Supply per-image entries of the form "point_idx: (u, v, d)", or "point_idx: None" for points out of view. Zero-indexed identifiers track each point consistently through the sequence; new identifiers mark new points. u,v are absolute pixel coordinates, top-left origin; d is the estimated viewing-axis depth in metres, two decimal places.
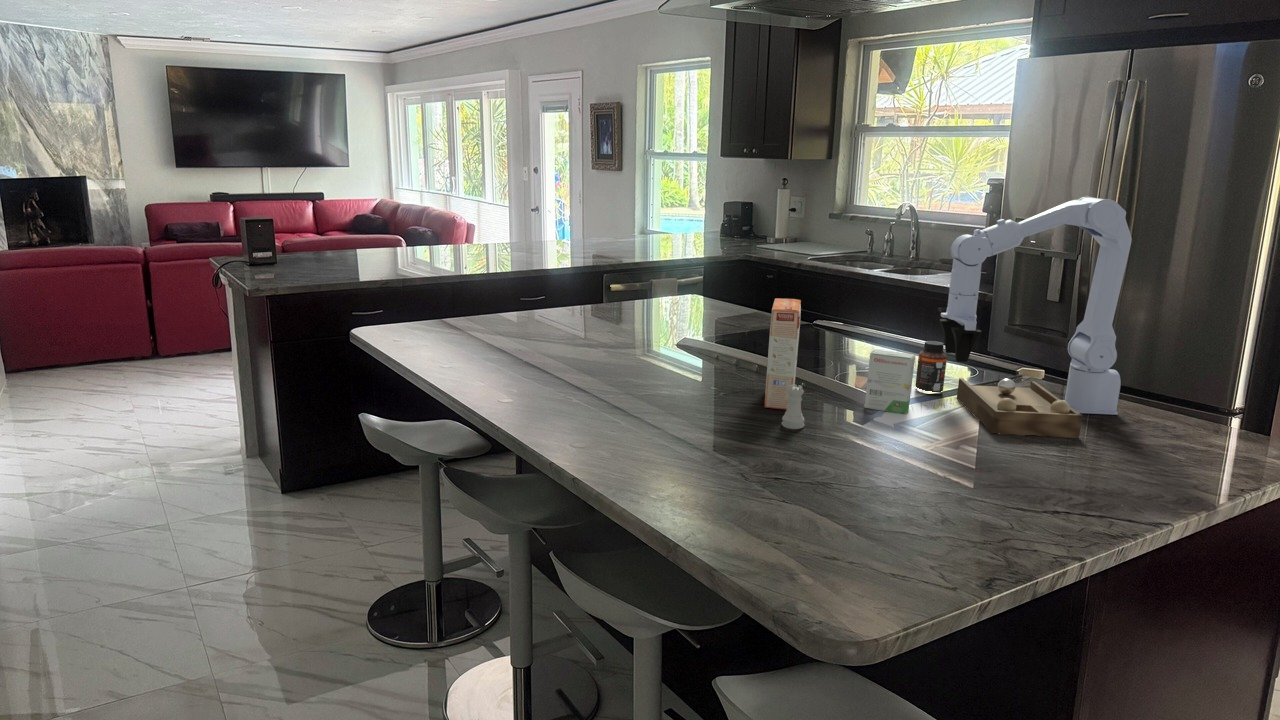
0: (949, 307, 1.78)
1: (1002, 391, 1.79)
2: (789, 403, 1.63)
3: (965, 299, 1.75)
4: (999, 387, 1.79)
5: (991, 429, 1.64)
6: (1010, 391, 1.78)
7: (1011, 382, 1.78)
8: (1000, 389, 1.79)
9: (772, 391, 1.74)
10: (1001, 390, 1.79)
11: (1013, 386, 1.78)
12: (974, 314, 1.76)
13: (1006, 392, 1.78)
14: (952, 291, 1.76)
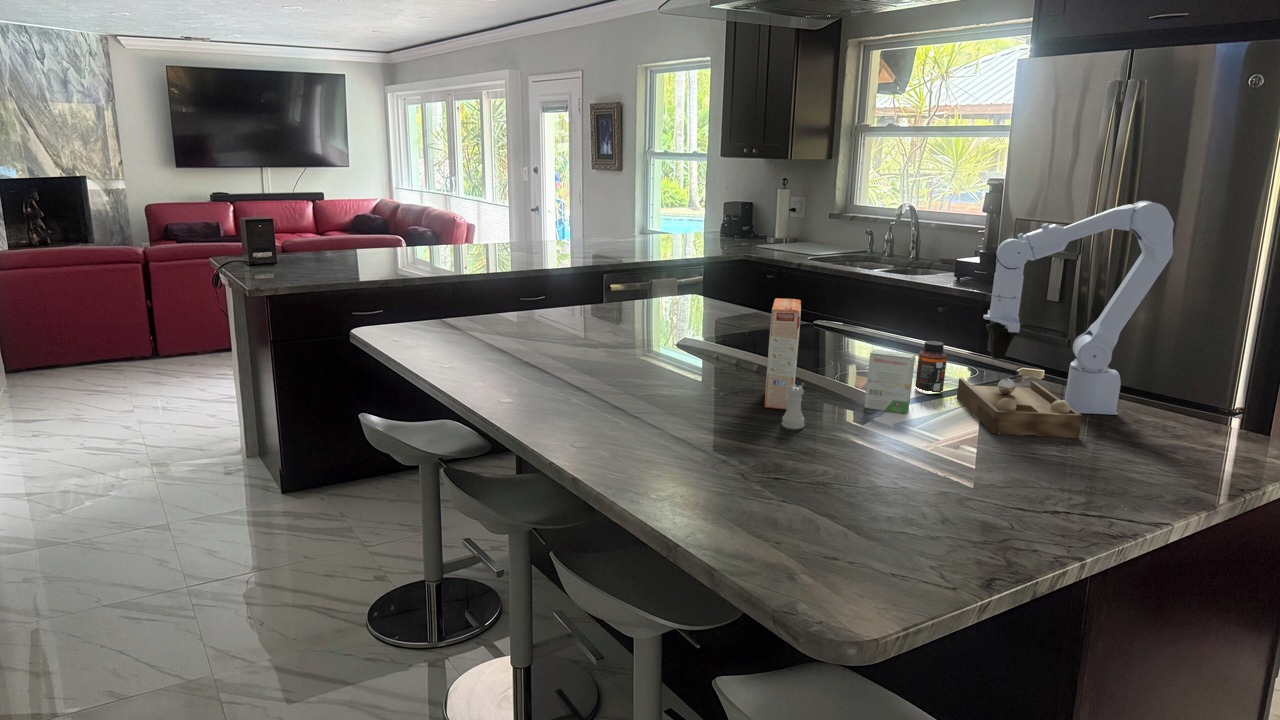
0: (992, 309, 1.82)
1: (1002, 391, 1.79)
2: (789, 403, 1.63)
3: (1008, 302, 1.79)
4: (999, 387, 1.79)
5: (991, 429, 1.64)
6: (1010, 391, 1.78)
7: (1011, 382, 1.78)
8: (1000, 389, 1.79)
9: (772, 391, 1.74)
10: (1001, 390, 1.79)
11: (1013, 386, 1.78)
12: (1016, 317, 1.81)
13: (1006, 392, 1.78)
14: (993, 293, 1.81)
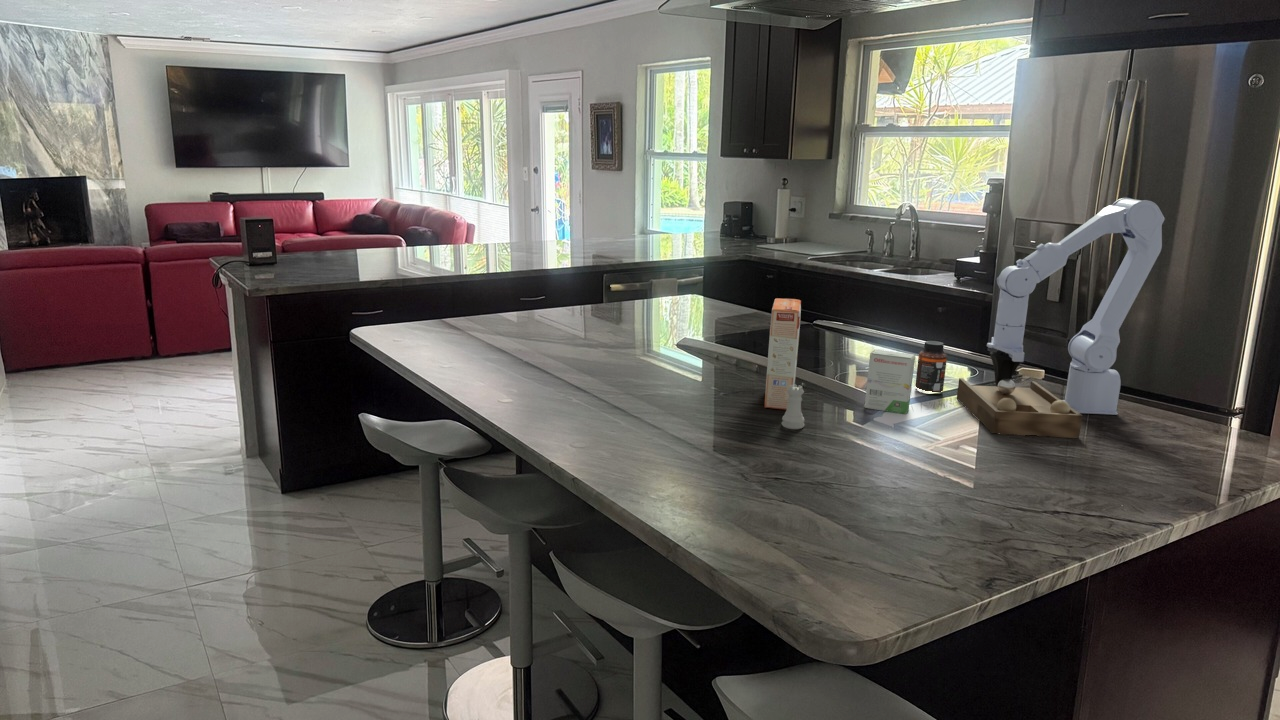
0: (996, 337, 1.79)
1: (1002, 391, 1.79)
2: (789, 403, 1.63)
3: (1012, 330, 1.76)
4: (999, 387, 1.79)
5: (991, 429, 1.64)
6: (1010, 391, 1.78)
7: (1011, 382, 1.78)
8: (1000, 389, 1.79)
9: (772, 391, 1.74)
10: (1001, 390, 1.79)
11: (1013, 386, 1.78)
12: (1021, 345, 1.78)
13: (1006, 392, 1.78)
14: (999, 322, 1.78)
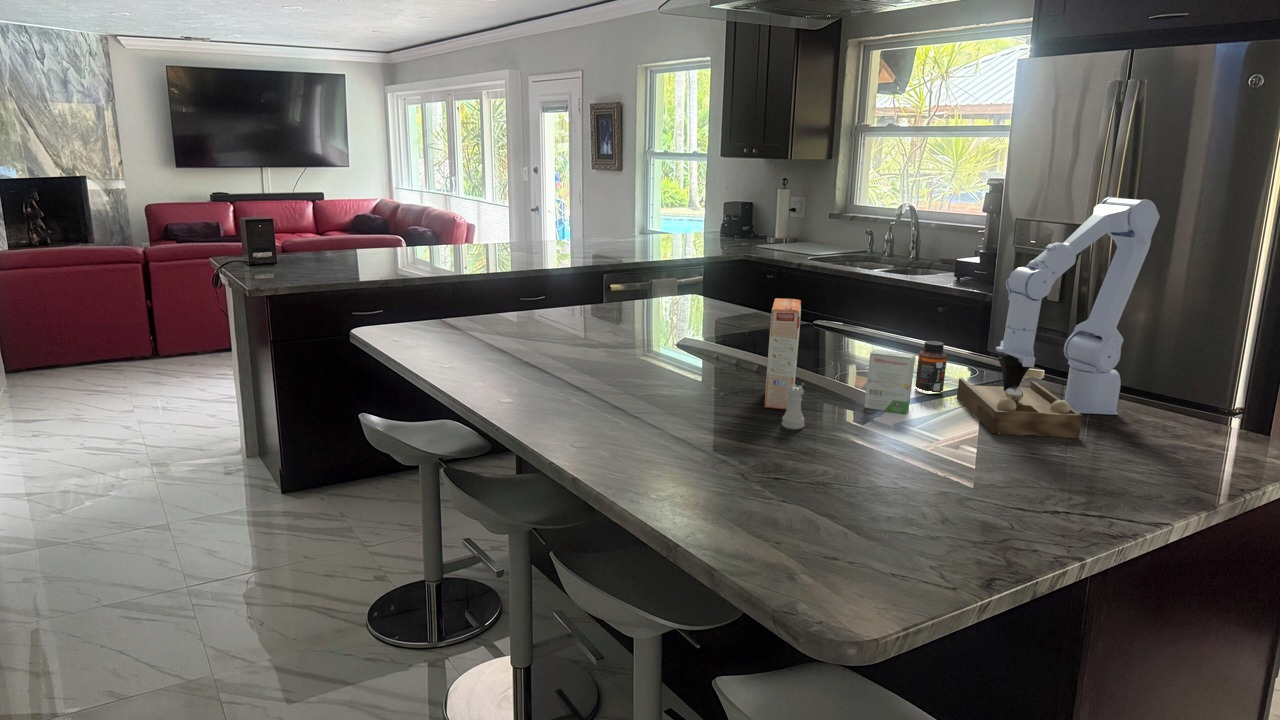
0: (1005, 341, 1.72)
1: (1009, 387, 1.75)
2: (789, 403, 1.63)
3: (1023, 334, 1.69)
4: None
5: (991, 429, 1.64)
6: None
7: None
8: (1007, 388, 1.75)
9: (772, 391, 1.74)
10: (1008, 387, 1.75)
11: None
12: (1031, 350, 1.71)
13: None
14: (1014, 326, 1.70)
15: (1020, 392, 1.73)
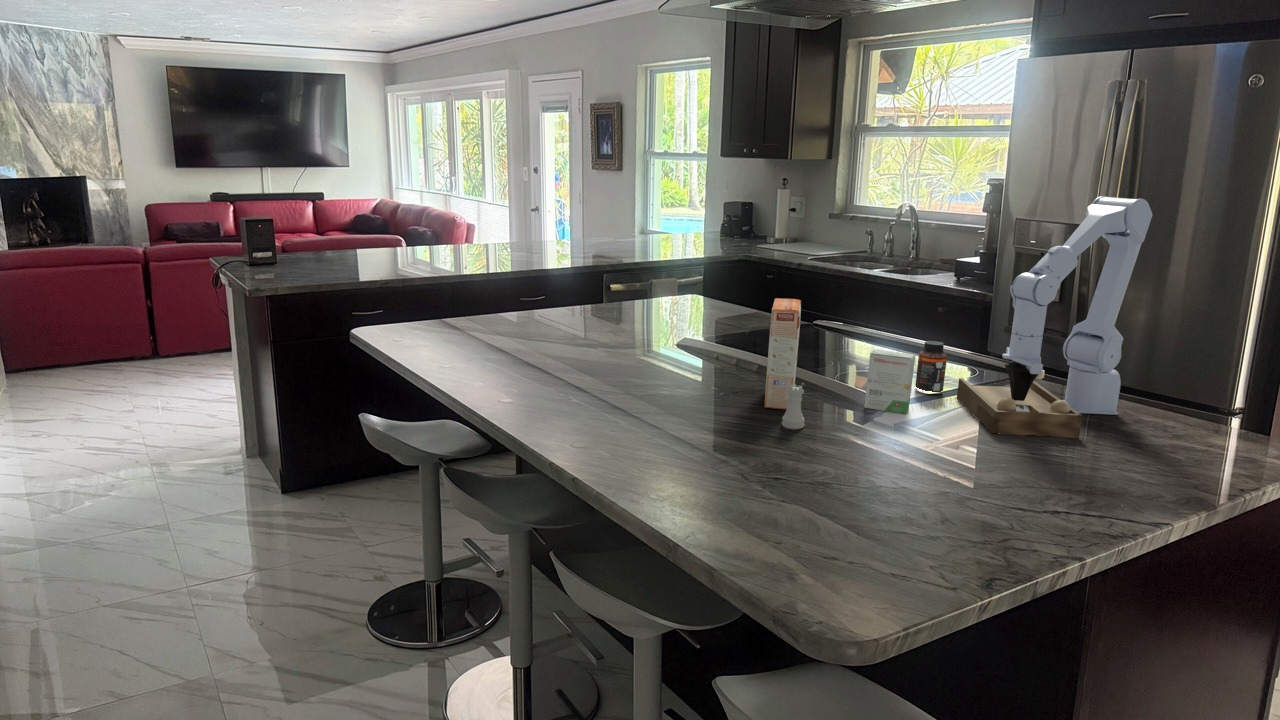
0: (1012, 348, 1.70)
1: None
2: (789, 403, 1.63)
3: (1030, 340, 1.67)
4: None
5: (991, 429, 1.64)
6: None
7: None
8: None
9: (772, 391, 1.74)
10: None
11: None
12: (1038, 356, 1.68)
13: None
14: (1022, 333, 1.67)
15: None
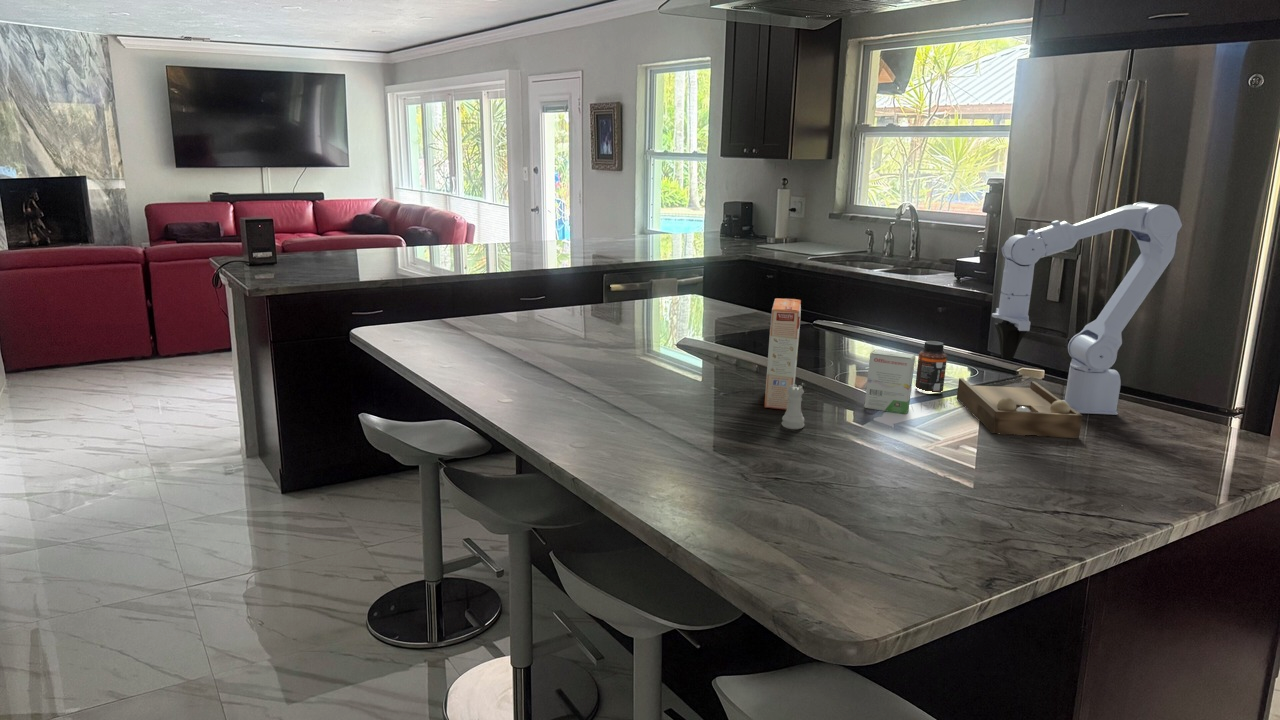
0: (1001, 307, 1.77)
1: None
2: (789, 403, 1.63)
3: (1018, 299, 1.74)
4: None
5: (991, 429, 1.64)
6: None
7: None
8: None
9: (772, 391, 1.74)
10: None
11: None
12: (1026, 315, 1.76)
13: None
14: (1004, 291, 1.76)
15: None
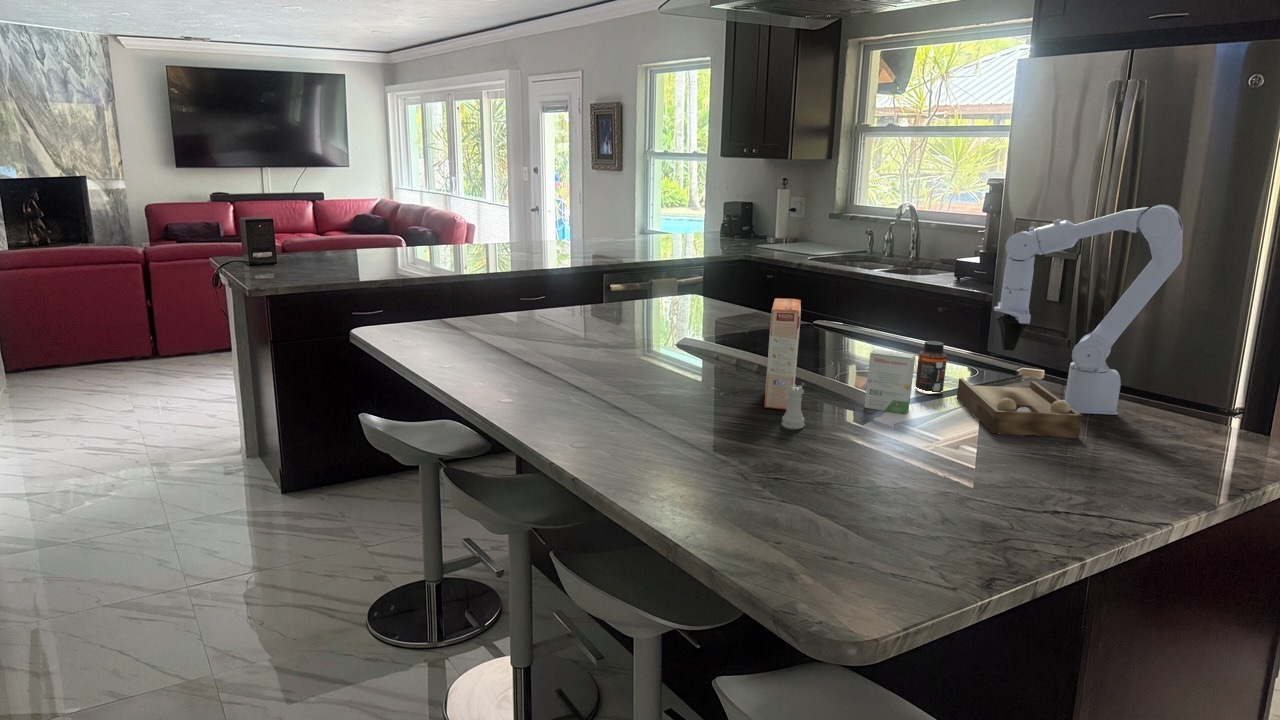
0: (1002, 301, 1.84)
1: None
2: (789, 403, 1.63)
3: (1019, 293, 1.82)
4: None
5: (991, 429, 1.64)
6: None
7: None
8: None
9: (772, 391, 1.74)
10: None
11: None
12: (1027, 308, 1.83)
13: None
14: (1003, 285, 1.84)
15: None
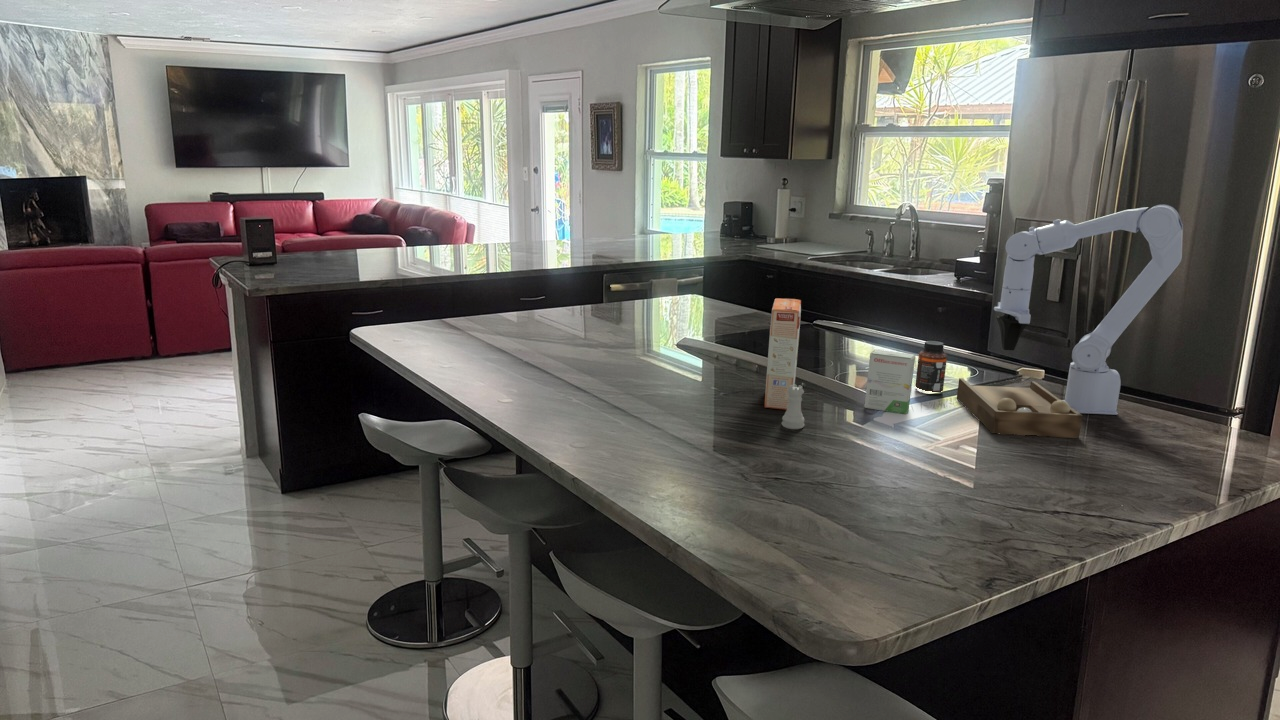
0: (1002, 301, 1.84)
1: None
2: (789, 403, 1.63)
3: (1019, 293, 1.82)
4: None
5: (991, 429, 1.64)
6: None
7: None
8: None
9: (772, 391, 1.74)
10: None
11: None
12: (1027, 308, 1.83)
13: None
14: (1003, 285, 1.84)
15: None
